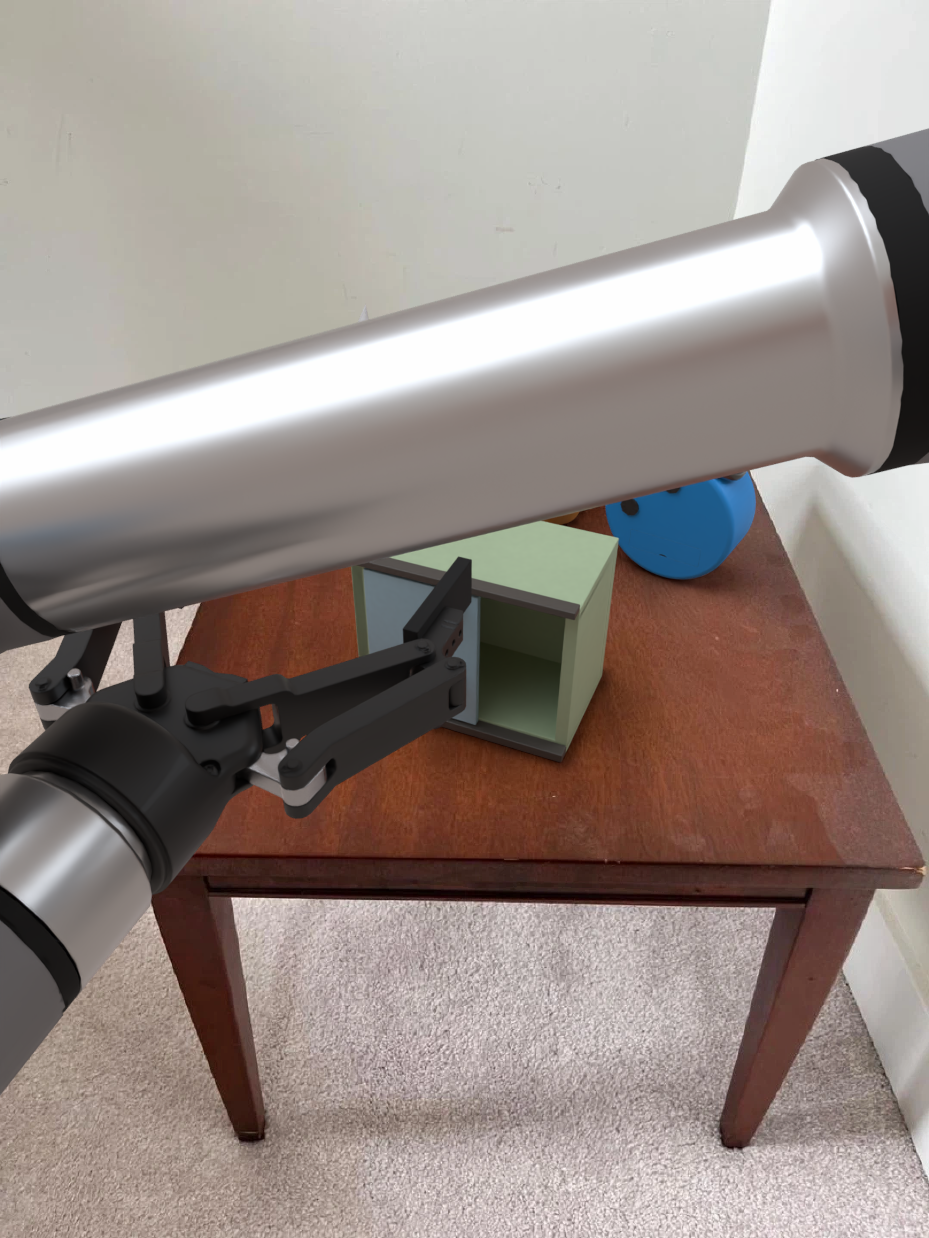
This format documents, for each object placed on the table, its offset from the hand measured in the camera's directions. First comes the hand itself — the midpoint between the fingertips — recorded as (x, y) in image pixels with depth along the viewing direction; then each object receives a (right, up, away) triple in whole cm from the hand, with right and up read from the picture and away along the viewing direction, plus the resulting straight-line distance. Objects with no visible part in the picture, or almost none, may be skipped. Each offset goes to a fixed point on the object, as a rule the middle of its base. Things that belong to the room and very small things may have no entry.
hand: (349, 550), depth 51 cm
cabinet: (+8, -9, +29) cm, 31 cm away
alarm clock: (+27, +2, +43) cm, 51 cm away
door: (+2, -12, +23) cm, 26 cm away
